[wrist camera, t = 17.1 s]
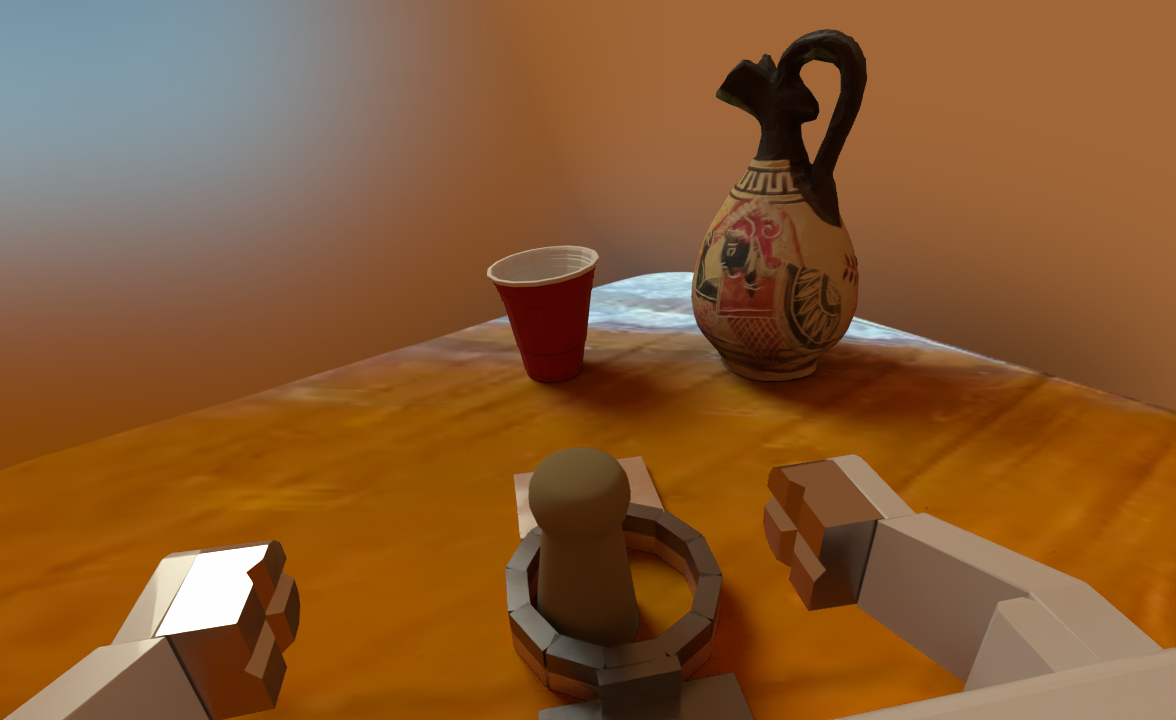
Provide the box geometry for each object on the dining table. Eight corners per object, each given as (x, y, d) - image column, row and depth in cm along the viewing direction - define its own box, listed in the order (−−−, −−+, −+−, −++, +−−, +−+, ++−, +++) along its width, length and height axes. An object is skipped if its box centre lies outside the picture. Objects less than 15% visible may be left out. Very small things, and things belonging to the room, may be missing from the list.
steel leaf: (519, 725, 30) (516, 707, 29) (502, 484, 46) (500, 470, 46) (751, 678, 31) (753, 660, 31) (653, 462, 48) (653, 447, 47)
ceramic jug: (658, 369, 62) (659, 39, 48) (737, 321, 72) (756, 35, 58) (820, 426, 51) (878, 24, 38) (886, 360, 61) (951, 22, 48)
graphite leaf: (532, 899, 23) (524, 863, 22) (506, 550, 40) (501, 517, 39) (820, 831, 25) (829, 793, 24) (680, 521, 42) (681, 489, 41)
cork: (582, 561, 39) (573, 418, 34) (660, 611, 35) (663, 459, 30) (513, 623, 35) (491, 472, 30) (593, 687, 31) (583, 527, 26)
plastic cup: (510, 347, 68) (497, 244, 63) (605, 346, 68) (601, 241, 62) (490, 396, 59) (473, 279, 53) (601, 395, 58) (595, 275, 52)
